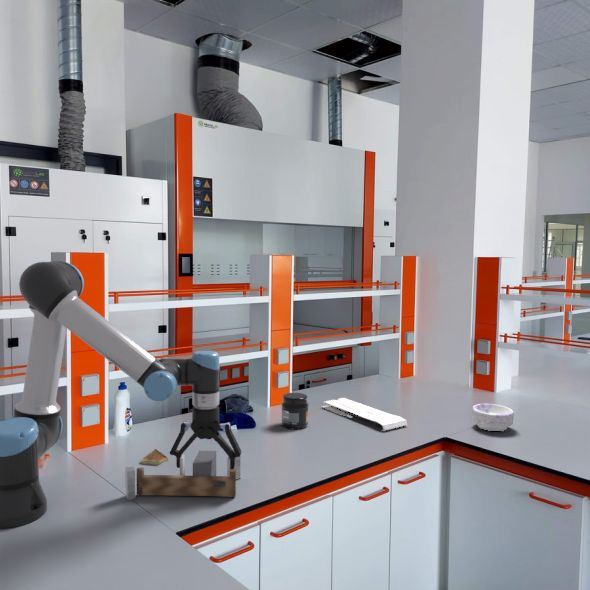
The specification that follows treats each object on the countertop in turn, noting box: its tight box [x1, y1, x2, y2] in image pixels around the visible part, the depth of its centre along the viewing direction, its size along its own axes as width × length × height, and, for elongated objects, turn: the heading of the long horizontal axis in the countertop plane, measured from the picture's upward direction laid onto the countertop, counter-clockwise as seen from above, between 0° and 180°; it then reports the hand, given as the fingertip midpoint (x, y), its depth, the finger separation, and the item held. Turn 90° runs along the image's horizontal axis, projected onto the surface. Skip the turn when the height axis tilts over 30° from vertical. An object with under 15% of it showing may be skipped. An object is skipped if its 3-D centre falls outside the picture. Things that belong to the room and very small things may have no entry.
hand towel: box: [322, 397, 408, 432], centre depth 228 cm, size 12×4×40 cm
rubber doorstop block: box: [192, 450, 217, 476], centre depth 158 cm, size 5×10×9 cm, turn 179°
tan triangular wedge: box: [140, 448, 169, 466], centre depth 180 cm, size 11×8×2 cm
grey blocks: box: [124, 449, 241, 501], centre depth 158 cm, size 33×3×8 cm, turn 118°
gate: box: [136, 467, 237, 497], centre depth 152 cm, size 27×3×7 cm, turn 90°
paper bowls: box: [471, 403, 515, 432], centre depth 215 cm, size 15×15×8 cm
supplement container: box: [280, 392, 309, 430], centre depth 215 cm, size 10×10×12 cm
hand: (205, 479), depth 157 cm, fingers open, 13 cm apart
